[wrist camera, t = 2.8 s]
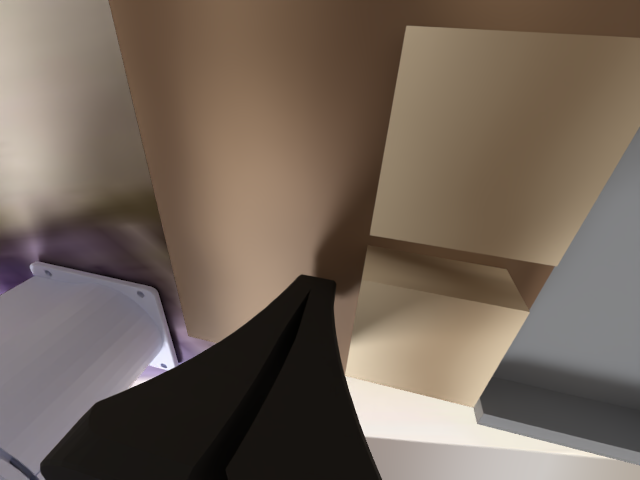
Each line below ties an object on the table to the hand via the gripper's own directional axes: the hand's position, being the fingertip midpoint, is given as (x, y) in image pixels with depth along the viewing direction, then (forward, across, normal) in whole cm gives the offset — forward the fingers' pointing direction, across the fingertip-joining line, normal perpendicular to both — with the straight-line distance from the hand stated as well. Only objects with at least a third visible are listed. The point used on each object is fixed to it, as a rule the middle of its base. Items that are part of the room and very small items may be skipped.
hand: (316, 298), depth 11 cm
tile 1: (+1, -4, 0) cm, 4 cm away
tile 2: (+1, -4, -6) cm, 7 cm away
